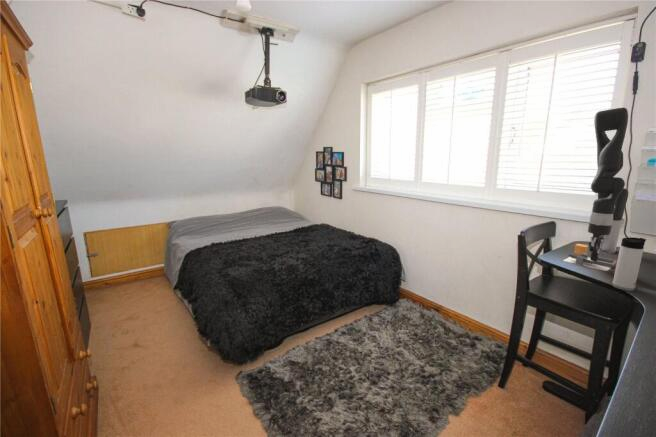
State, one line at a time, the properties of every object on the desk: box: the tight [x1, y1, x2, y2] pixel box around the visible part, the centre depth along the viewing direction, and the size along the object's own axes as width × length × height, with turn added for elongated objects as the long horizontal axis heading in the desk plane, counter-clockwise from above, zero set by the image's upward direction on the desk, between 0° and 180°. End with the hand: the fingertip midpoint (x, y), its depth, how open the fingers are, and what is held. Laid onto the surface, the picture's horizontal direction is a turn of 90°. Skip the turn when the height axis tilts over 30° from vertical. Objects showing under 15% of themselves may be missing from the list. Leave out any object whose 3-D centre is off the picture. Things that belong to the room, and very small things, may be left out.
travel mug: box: [612, 236, 647, 292], centre depth 118 cm, size 6×7×20 cm
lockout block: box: [573, 243, 589, 255], centre depth 150 cm, size 4×4×6 cm
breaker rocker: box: [568, 252, 595, 264], centre depth 143 cm, size 4×9×1 cm, turn 36°
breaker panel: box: [562, 256, 611, 272], centre depth 144 cm, size 15×16×2 cm
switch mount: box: [575, 254, 589, 266], centre depth 143 cm, size 6×2×3 cm, turn 126°
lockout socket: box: [593, 256, 617, 269], centre depth 142 cm, size 8×8×2 cm
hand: (593, 260), depth 139 cm, fingers closed
